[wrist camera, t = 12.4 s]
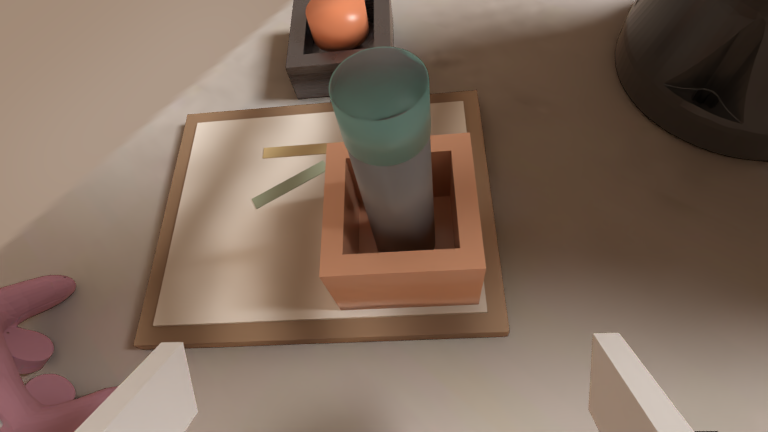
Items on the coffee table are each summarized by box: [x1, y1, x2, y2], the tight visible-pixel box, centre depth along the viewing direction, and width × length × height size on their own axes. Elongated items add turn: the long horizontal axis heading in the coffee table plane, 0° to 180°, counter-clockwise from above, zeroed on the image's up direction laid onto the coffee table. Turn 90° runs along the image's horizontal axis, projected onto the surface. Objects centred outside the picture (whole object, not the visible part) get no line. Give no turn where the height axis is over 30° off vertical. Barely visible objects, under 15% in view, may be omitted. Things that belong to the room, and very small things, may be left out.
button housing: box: [286, 0, 394, 99], centre depth 34 cm, size 7×7×3 cm
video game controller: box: [0, 275, 118, 432], centre depth 24 cm, size 10×5×7 cm, turn 41°
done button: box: [306, 0, 369, 52], centre depth 32 cm, size 4×4×2 cm
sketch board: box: [133, 90, 509, 350], centre depth 29 cm, size 20×16×1 cm
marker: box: [329, 47, 435, 253], centre depth 21 cm, size 3×3×12 cm
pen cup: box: [319, 132, 486, 310], centre depth 24 cm, size 7×7×5 cm
